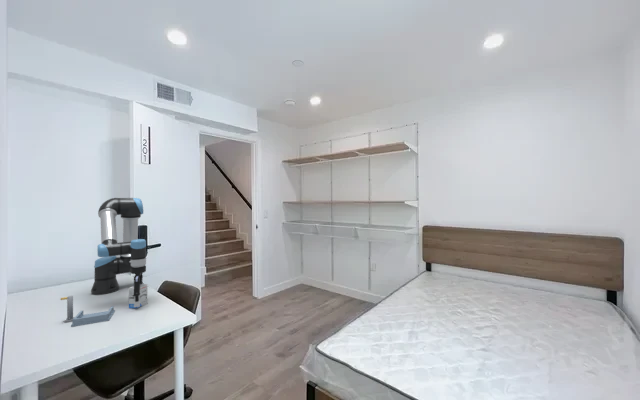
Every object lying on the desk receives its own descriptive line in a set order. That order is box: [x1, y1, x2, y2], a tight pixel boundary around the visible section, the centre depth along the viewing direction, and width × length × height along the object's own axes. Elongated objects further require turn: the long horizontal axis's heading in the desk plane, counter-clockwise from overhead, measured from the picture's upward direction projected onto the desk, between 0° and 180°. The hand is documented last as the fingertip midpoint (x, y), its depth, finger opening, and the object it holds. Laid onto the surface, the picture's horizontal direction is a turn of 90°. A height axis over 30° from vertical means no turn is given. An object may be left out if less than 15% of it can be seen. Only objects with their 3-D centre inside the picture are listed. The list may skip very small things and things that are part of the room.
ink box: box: [128, 283, 148, 309], centre depth 156 cm, size 9×5×12 cm, turn 168°
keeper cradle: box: [60, 295, 116, 328], centre depth 138 cm, size 13×22×12 cm, turn 117°
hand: (138, 303), depth 156 cm, fingers closed on ink box, 9 cm apart
